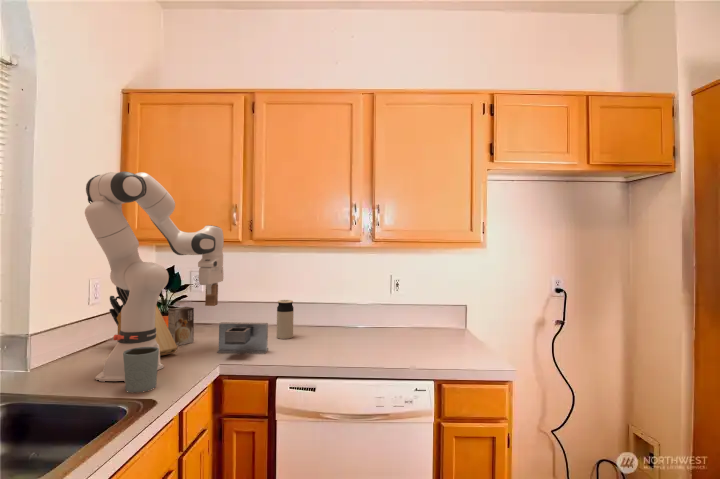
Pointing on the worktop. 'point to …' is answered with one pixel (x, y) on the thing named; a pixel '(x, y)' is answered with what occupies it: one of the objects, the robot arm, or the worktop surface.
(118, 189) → the robot arm
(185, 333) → the coffee box
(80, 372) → the worktop surface
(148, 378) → the grey-green planter pot
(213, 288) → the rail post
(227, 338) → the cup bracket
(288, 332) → the travel mug
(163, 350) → the knife block
